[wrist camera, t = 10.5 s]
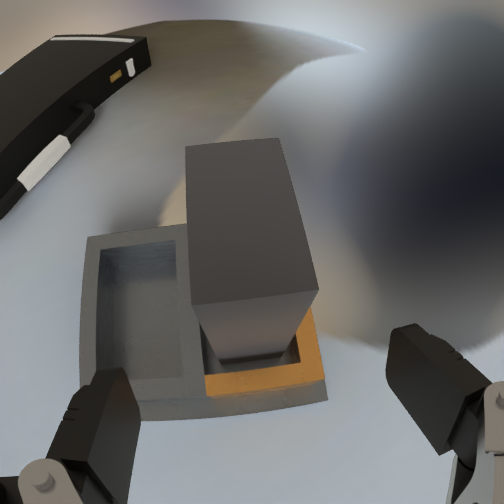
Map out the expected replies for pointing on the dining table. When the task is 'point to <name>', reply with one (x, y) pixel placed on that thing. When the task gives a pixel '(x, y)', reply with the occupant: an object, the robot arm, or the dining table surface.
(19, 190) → the briefcase
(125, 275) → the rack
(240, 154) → the grey rectangular block
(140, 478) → the dining table surface
